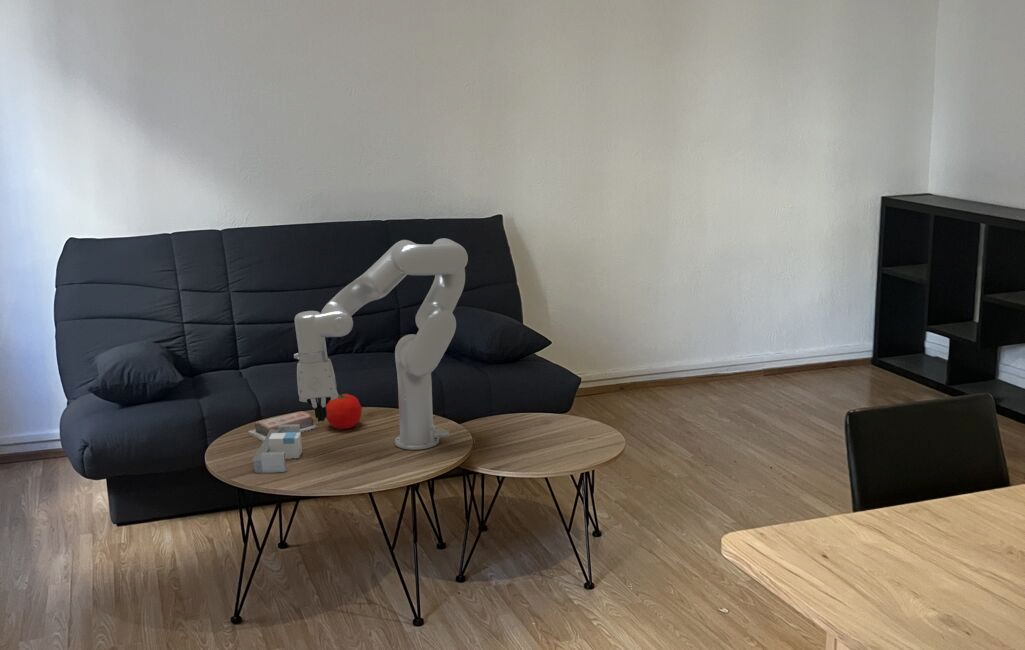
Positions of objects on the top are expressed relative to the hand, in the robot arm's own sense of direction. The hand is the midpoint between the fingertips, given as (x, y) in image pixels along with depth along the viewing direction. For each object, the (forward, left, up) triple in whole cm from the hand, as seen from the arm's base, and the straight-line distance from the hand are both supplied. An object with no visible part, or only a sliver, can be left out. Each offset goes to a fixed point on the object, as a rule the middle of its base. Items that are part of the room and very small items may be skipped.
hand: (321, 419), depth 300 cm
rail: (+13, 0, -10) cm, 16 cm away
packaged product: (+15, -22, -11) cm, 29 cm away
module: (+10, 0, -10) cm, 15 cm away
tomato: (-3, -25, -10) cm, 27 cm away
